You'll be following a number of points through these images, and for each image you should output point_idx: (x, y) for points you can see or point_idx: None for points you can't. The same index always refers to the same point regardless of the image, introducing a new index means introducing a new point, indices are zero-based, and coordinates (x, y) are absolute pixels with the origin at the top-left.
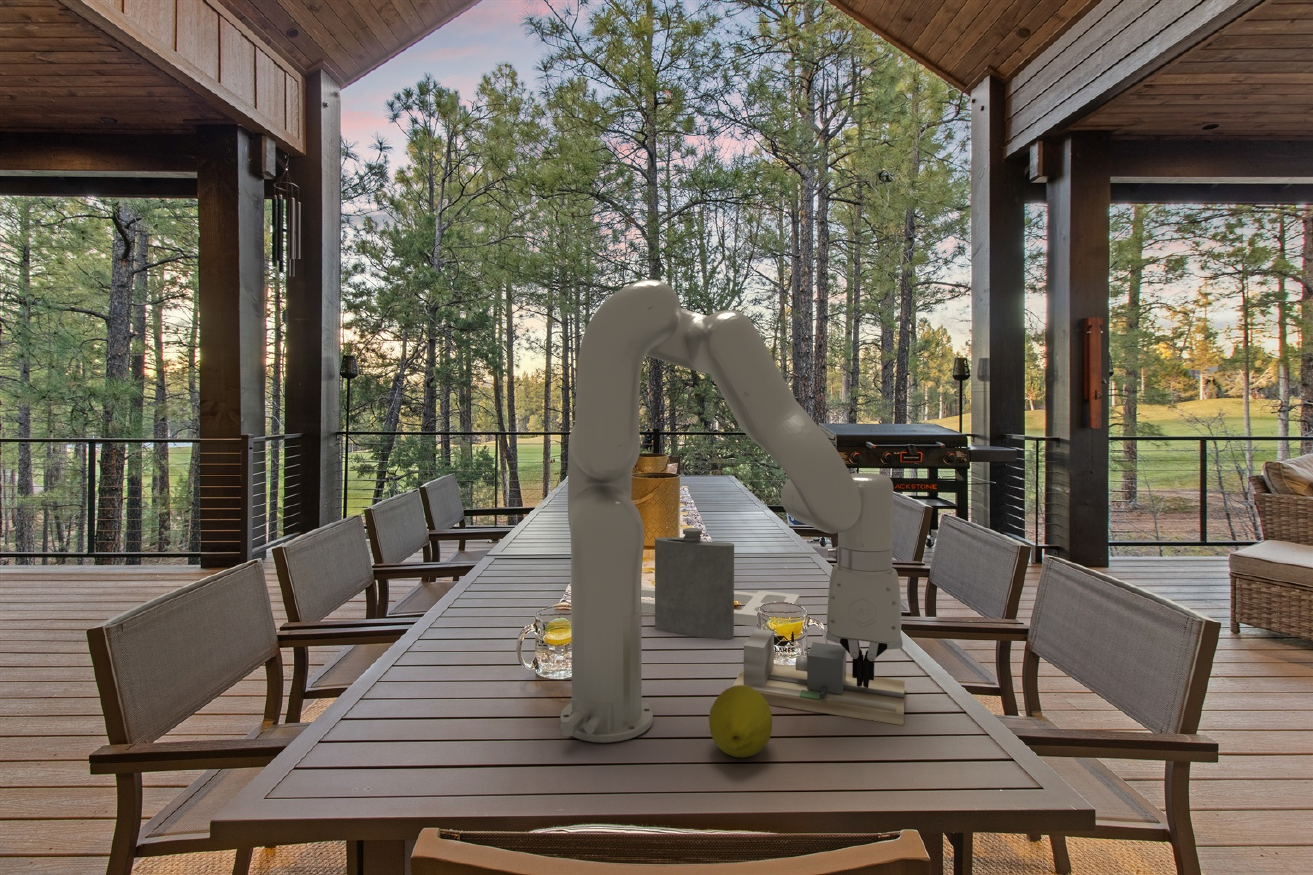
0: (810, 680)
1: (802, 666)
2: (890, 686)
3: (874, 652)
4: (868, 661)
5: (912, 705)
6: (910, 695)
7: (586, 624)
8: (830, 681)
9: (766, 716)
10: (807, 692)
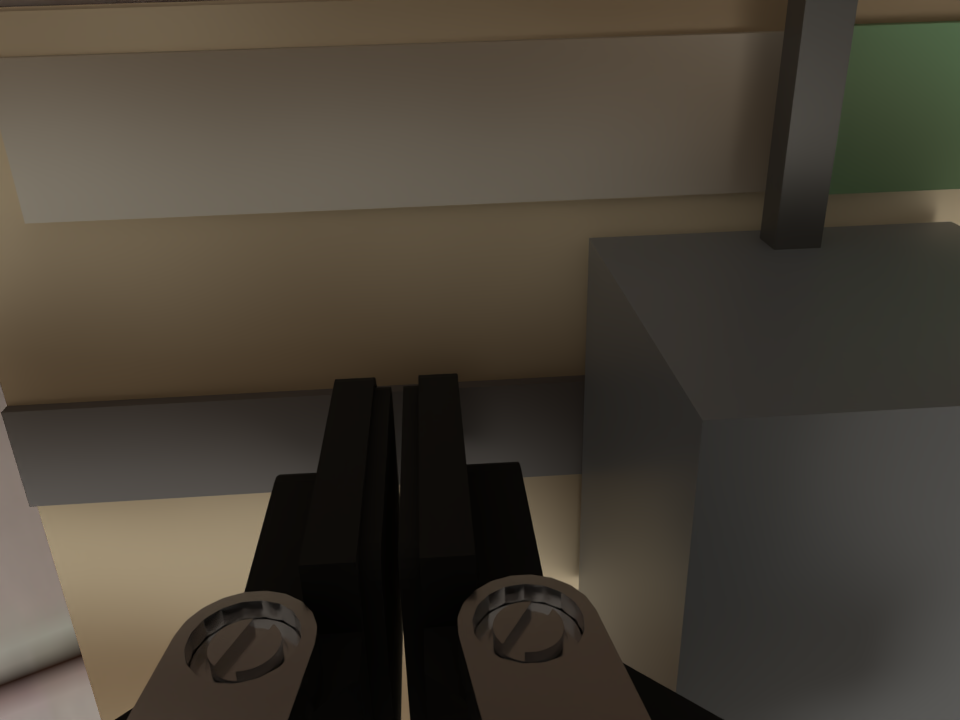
0: None
1: None
2: (190, 605)
3: (173, 709)
4: (300, 569)
5: (5, 459)
6: (70, 620)
7: None
8: (755, 274)
9: None
10: (951, 141)
